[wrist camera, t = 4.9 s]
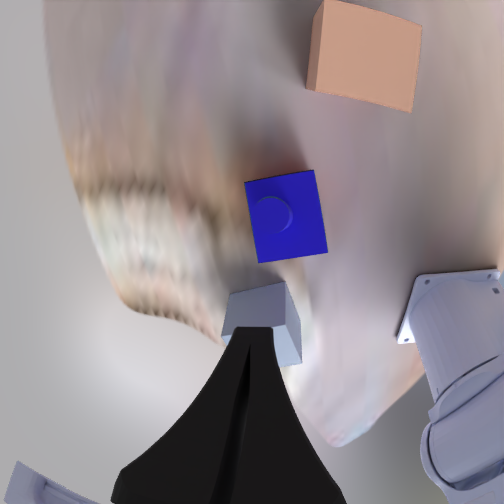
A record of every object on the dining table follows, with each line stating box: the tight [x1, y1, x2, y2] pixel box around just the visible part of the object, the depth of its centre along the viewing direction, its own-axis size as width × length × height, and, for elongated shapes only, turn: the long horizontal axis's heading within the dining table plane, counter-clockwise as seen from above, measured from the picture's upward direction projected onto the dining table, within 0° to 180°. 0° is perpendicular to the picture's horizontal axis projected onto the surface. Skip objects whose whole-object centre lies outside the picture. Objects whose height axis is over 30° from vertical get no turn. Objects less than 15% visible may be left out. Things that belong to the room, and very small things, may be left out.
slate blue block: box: [221, 281, 302, 367], centre depth 22 cm, size 4×4×4 cm
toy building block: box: [244, 170, 328, 263], centre depth 16 cm, size 4×4×8 cm
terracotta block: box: [306, 0, 422, 113], centre depth 11 cm, size 4×4×4 cm
